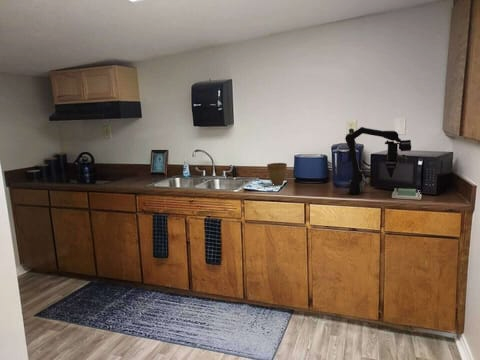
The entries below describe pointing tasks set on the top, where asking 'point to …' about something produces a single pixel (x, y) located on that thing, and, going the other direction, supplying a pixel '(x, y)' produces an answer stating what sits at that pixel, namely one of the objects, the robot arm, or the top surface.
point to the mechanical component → (364, 182)
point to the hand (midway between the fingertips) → (391, 175)
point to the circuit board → (406, 192)
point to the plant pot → (277, 172)
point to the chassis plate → (418, 196)
